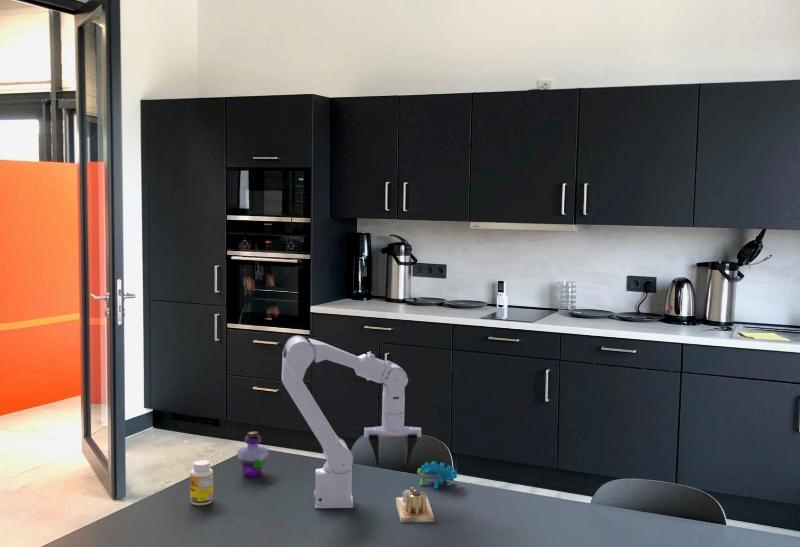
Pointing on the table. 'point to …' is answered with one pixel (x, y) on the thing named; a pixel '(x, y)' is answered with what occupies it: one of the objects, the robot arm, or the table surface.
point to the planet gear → (416, 501)
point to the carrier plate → (413, 517)
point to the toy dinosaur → (436, 473)
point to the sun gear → (406, 493)
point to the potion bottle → (252, 456)
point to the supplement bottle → (201, 483)
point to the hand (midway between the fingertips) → (392, 463)
